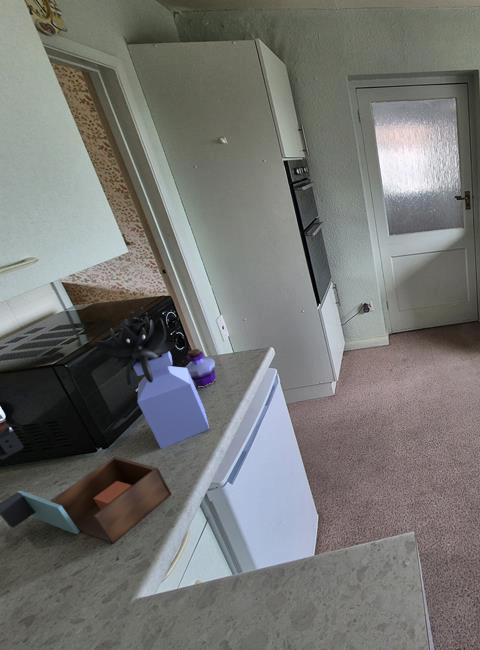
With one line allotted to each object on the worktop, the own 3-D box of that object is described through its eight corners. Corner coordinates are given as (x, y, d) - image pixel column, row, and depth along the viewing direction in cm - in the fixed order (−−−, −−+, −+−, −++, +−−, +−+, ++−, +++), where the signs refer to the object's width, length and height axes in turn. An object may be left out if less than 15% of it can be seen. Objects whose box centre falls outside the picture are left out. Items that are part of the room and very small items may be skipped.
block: (103, 513, 78) (93, 498, 77) (126, 495, 82) (117, 480, 80) (117, 518, 77) (107, 503, 75) (140, 500, 81) (131, 485, 79)
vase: (146, 458, 93) (79, 331, 79) (147, 433, 102) (86, 315, 88) (212, 430, 101) (161, 310, 87) (207, 410, 109) (160, 297, 95)
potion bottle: (184, 389, 121) (170, 356, 116) (208, 374, 128) (195, 342, 123) (204, 392, 118) (190, 359, 113) (227, 377, 125) (215, 345, 120)
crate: (113, 544, 73) (95, 516, 69) (69, 526, 77) (50, 500, 74) (171, 494, 82) (158, 468, 79) (129, 481, 87) (115, 456, 84)
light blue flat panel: (54, 551, 71) (32, 522, 68) (12, 533, 76) (-10, 505, 73) (80, 531, 75) (59, 503, 72) (38, 515, 79) (18, 488, 76)
